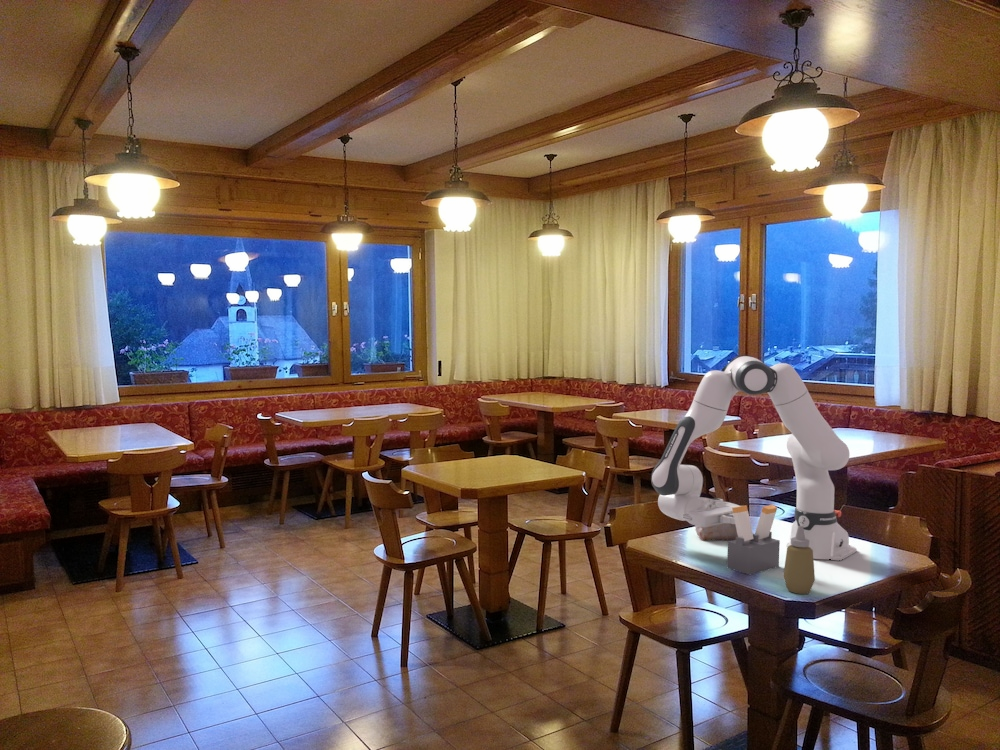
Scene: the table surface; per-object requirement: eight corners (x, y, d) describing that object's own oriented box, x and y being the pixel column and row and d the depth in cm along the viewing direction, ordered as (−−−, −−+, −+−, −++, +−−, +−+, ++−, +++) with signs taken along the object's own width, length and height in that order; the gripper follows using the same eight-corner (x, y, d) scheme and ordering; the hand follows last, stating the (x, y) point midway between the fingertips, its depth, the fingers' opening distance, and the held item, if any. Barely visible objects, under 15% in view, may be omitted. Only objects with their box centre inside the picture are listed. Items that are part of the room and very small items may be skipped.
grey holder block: (756, 559, 237) (757, 528, 236) (778, 566, 230) (779, 533, 230) (727, 567, 229) (727, 534, 228) (749, 574, 222) (750, 541, 222)
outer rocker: (748, 539, 229) (741, 505, 231) (753, 538, 228) (746, 505, 229) (738, 541, 226) (732, 507, 228) (743, 541, 225) (736, 507, 227)
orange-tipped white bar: (763, 533, 233) (772, 504, 230) (768, 536, 232) (777, 507, 229) (754, 536, 230) (762, 506, 228) (759, 539, 229) (767, 509, 226)
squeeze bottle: (819, 590, 209) (821, 526, 208) (807, 598, 204) (809, 531, 202) (789, 583, 215) (791, 520, 214) (778, 590, 209) (780, 526, 208)
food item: (698, 541, 257) (699, 512, 256) (693, 535, 265) (694, 507, 264) (739, 542, 256) (740, 513, 256) (733, 535, 264) (734, 507, 264)
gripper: (679, 506, 235) (715, 515, 223) (722, 497, 246) (759, 506, 235) (678, 526, 235) (714, 536, 224) (722, 517, 247) (758, 526, 235)
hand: (738, 520), depth 229 cm, fingers closed
